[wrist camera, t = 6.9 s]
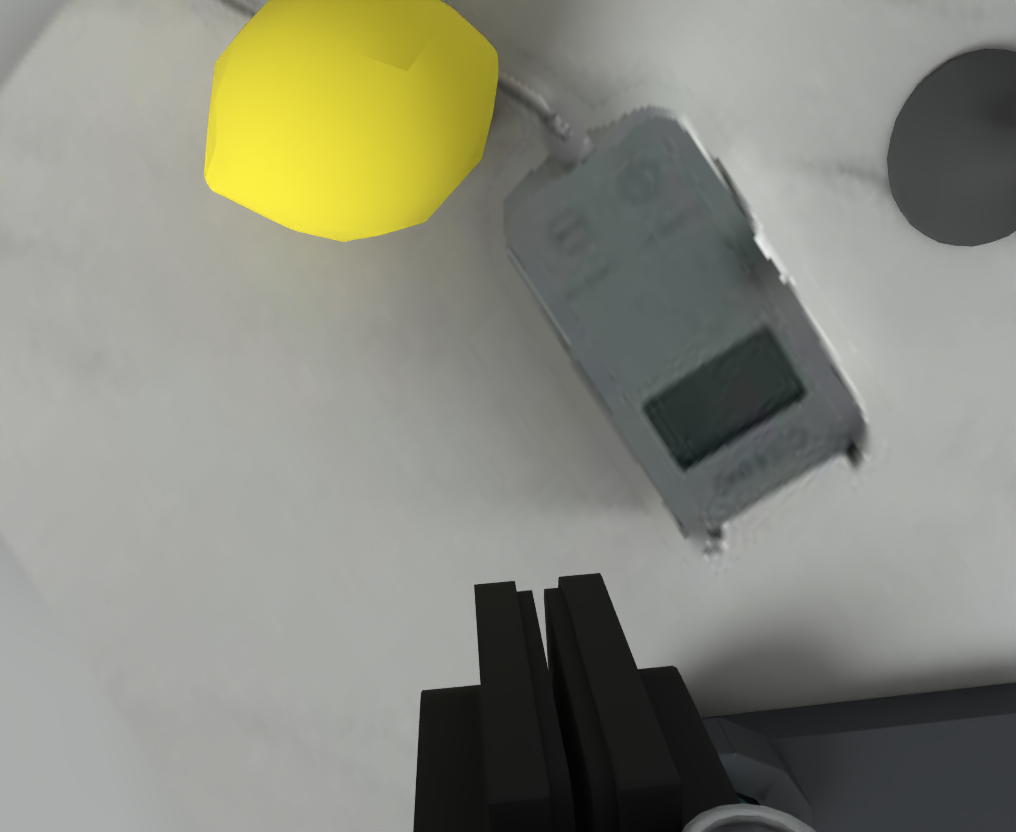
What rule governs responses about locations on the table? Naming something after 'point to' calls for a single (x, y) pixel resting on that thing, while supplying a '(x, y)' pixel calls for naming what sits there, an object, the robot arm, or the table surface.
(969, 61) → the sundae
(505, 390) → the table surface
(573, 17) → the table surface
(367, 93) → the lemon
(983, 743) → the scale
